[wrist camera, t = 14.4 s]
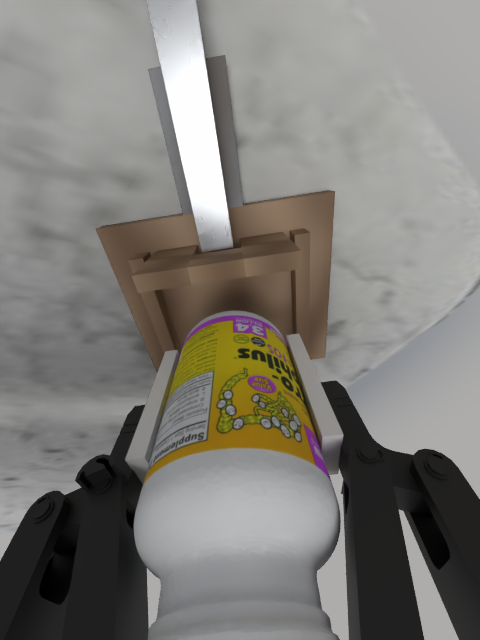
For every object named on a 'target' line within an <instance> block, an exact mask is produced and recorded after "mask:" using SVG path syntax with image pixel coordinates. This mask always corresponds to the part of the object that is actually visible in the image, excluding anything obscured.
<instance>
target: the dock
mask: <svg viewBox="0 0 480 640" xmlns="http://www.w3.org/2000/svg"><path fill="white" fill-rule="evenodd" d="M206 65H207V72H208V78H209V85H210V92H211V98H212V105H213V112H214V118H215V125H216V132H217V138H218V145H219V152H220V158H221V165H222V172H223V178H224V185H225V192H226V198H227V205H228V212H229V218H230V225H231V231H232V238H233V248H227V249H220V250H214V251H207V252H202V250H201V246H200V241H199V237H198V232H197V228H196V223H195V218H194V214H193V209H192V205H191V200H190V196H189V191H188V187H187V182H186V178H185V173H184V169H183V164H182V160H181V155H180V150H179V146H178V141H177V137H176V132H175V128H174V123H173V119H172V114H171V110H170V105H169V101H168V96H167V91H166V87H165V82H164V78H163V73H162V69H161V67H157V68H151V69H148V71H149V75H150V79H151V83H152V87H153V91H154V96H155V100H156V104H157V108H158V112H159V116H160V120H161V125H162V129H163V133H164V137H165V141H166V145H167V150H168V154H169V158H170V162H171V166H172V170H173V174H174V179H175V183H176V187H177V191H178V195H179V199H180V203H181V208H182V212H183V214H176V215H170V216H164V217H157V218H151V219H145V220H138V221H132V222H126V223H119V224H113V225H107V226H102V227H100V228H97V229H96V231H97V233H98V236H99V238H100V240H101V243H102V245H103V247H104V250H105V252H106V254H107V257H108V259H109V261H110V264H111V266H112V268H113V271H114V273H115V275H116V278H117V280H118V282H119V285H120V287H121V289H122V292H123V294H124V296H125V299H126V301H127V303H128V306H129V308H130V310H131V313H132V315H133V317H134V320H135V322H136V324H137V327H138V329H139V331H140V334H141V336H142V338H143V341H144V343H145V345H146V348H147V350H148V352H149V355H150V357H151V359H152V362H153V364H154V366H155V369H156V371H157V373H158V370H159V367H160V365H161V362H162V359H163V357H164V354H165V351H172V350H178V352H179V355H180V354H181V351H182V348H183V345H184V342H185V340H186V338H187V336H188V334H189V333H190V332H191V330H192V329H193V328H194V327H195V326H196V325H197V324H198V323H199V322H200V321H202V320H203V319H205V318H207V317H209V316H211V315H213V314H216V313H220V312H224V311H246V312H250V313H254V314H257V315H259V316H261V317H263V318H265V319H267V320H268V321H270V322H271V323H272V324H273V325H274V326H275V327H276V328H277V329H278V330H279V332H280V333H281V334H282V336H283V338H284V341H285V344H286V346H287V338H286V335H291V334H299V335H300V337H301V339H302V341H303V344H304V346H305V348H306V351H307V353H308V355H309V357H310V359H317V358H325V353H326V336H327V319H328V301H329V284H330V267H331V250H332V232H333V215H334V198H335V191H322V192H316V193H309V194H303V195H297V196H290V197H284V198H278V199H271V200H265V201H259V202H252V203H246V204H243V201H242V192H241V184H240V176H239V167H238V159H237V150H236V142H235V134H234V125H233V117H232V109H231V100H230V92H229V84H228V75H227V67H226V59H225V55H223V56H217V57H212V58H206Z"/></svg>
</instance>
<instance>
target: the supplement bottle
mask: <svg viewBox="0 0 480 640" xmlns="http://www.w3.org/2000/svg"><path fill="white" fill-rule="evenodd" d="M339 533H340V510H339V505H338V501H337V498H336V495H335V492H334V488H333V486H332V482H331V479H330V476H329V474H328V471H327V468H326V465H325V462H324V459H323V456H322V453H321V450H320V446H319V443H318V440H317V437H316V434H315V431H314V428H313V425H312V422H311V419H310V416H309V413H308V410H307V407H306V404H305V400H304V397H303V395H302V392H301V389H300V386H299V382H298V379H297V376H296V373H295V370H294V367H293V364H292V361H291V358H290V355H289V352H288V349H287V346H286V344H285V341H284V338H283V336H282V334H281V333H280V332H279V330H278V329H277V328H276V327H275V326H274V325H273V324H272V323H271V322H270V321H268V320H267V319H265V318H263V317H261V316H259V315H257V314H254V313H250V312H246V311H224V312H220V313H216V314H213V315H211V316H209V317H207V318H205V319H203V320H202V321H200V322H199V323H198V324H197V325H196V326H195V327H194V328H193V329H192V330H191V332H190V333H189V334H188V336H187V338H186V340H185V342H184V345H183V348H182V351H181V354H180V358H179V361H178V364H177V368H176V372H175V375H174V378H173V382H172V385H171V389H170V392H169V396H168V400H167V404H166V407H165V410H164V414H163V417H162V421H161V424H160V428H159V431H158V435H157V438H156V442H155V445H154V449H153V452H152V456H151V459H150V462H149V466H148V469H147V473H146V476H145V479H144V483H143V486H142V490H141V493H140V497H139V500H138V504H137V508H136V512H135V517H134V538H135V544H136V548H137V551H138V553H139V556H140V558H141V559H142V561H143V563H144V564H145V566H146V567H147V568H148V569H149V570H150V571H151V572H152V573H153V574H154V575H155V576H156V577H158V578H159V579H160V581H161V592H160V598H159V605H158V614H157V619H156V621H155V622H154V623H153V624H152V625H151V627H150V628H149V632H148V640H340V639H339V638H338V636H337V635H336V634H334V633H333V632H332V630H331V623H330V618H329V617H328V615H327V614H326V613H325V612H324V611H323V610H322V607H321V602H320V594H319V589H318V584H317V577H316V576H317V575H316V574H317V570H319V569H320V568H321V567H322V566H323V565H324V564H325V563H326V562H327V560H328V559H329V558H330V557H331V555H332V553H333V551H334V549H335V547H336V545H337V542H338V538H339Z"/></svg>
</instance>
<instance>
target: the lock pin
mask: <svg viewBox="0 0 480 640" xmlns="http://www.w3.org/2000/svg"><path fill="white" fill-rule="evenodd" d="M146 1H147V5H148V10H149V14H150V19H151V23H152V28H153V33H154V37H155V42H156V46H157V51H158V55H159V60H160V64H161V69H162V73H163V78H164V82H165V87H166V91H167V96H168V101H169V105H170V110H171V114H172V119H173V123H174V128H175V132H176V137H177V141H178V146H179V150H180V155H181V160H182V164H183V169H184V173H185V178H186V182H187V187H188V191H189V196H190V200H191V205H192V209H193V214H194V218H195V223H196V228H197V232H198V237H199V241H200V246H201V250H202V252H207V251H214V250H220V249H227V248H233V238H232V231H231V225H230V218H229V212H228V205H227V198H226V192H225V185H224V178H223V172H222V165H221V158H220V152H219V145H218V138H217V132H216V125H215V118H214V112H213V105H212V98H211V92H210V85H209V78H208V72H207V65H206V58H205V52H204V45H203V38H202V32H201V25H200V18H199V12H198V5H197V0H146Z"/></svg>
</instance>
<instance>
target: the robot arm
mask: <svg viewBox="0 0 480 640" xmlns="http://www.w3.org/2000/svg"><path fill="white" fill-rule="evenodd" d="M286 338H287V349H288V352H289V355H290V358H291V361H292V364H293V367H294V370H295V373H296V376H297V379H298V382H299V386H300V389H301V392H302V395H303V397H304V400H305V404H306V407H307V410H308V413H309V416H310V419H311V422H312V425H313V428H314V431H315V434H316V437H317V440H318V443H319V446H320V450H321V453H322V456H323V459H324V462H325V465H326V468H327V471H328V474H329V475H332V474H338V471H339V469H340V471H341V474H342V477H343V485H342V492H341V494H343V504H344V529H345V553H346V576H347V601H348V622H349V623H348V625H349V640H424V636H423V631H422V626H421V621H420V616H419V611H418V606H417V601H416V596H415V591H414V586H413V581H412V576H411V571H410V566H409V560H408V556H407V551H406V546H405V540H404V536H403V530H402V526H401V521H400V515H399V510H398V509H400V510H403V511H404V513H405V515H406V518H407V520H408V522H409V525H410V527H411V529H412V532H413V534H414V536H415V538H416V541H417V543H418V545H419V548H420V550H421V552H422V555H423V557H424V559H425V562H426V564H427V566H428V569H429V571H430V573H431V576H432V578H433V580H434V583H435V585H436V587H437V590H438V592H439V594H440V596H441V599H442V601H443V603H444V606H445V608H446V610H447V613H448V615H449V617H450V620H451V622H452V624H453V627H454V629H455V631H456V634H457V636H458V638H459V640H480V499H479V498H478V496H477V495H476V493H475V492H474V490H473V489H472V488H471V486H470V485H469V483H468V482H467V480H466V479H465V477H464V476H463V474H462V473H461V471H460V470H459V468H458V467H457V466H456V465H455V464H454V463H453V462H452V460H451V459H449V458H448V457H446V456H445V455H443V454H442V453H439V452H437V451H435V450H430V449H422V450H418V451H417V452H416V453H415V454H414V455H410V454H405V453H400V452H395V451H392V450H389V449H386V448H384V447H382V446H381V445H380V444H378V443H377V442H376V441H375V440H374V439H373V438H372V437H371V435H370V434H369V432H368V430H367V428H366V426H365V425H364V423H363V421H362V419H361V417H360V416H359V414H358V412H357V410H356V408H355V406H354V405H353V403H352V401H351V399H350V398H349V395H348V393H347V391H346V390H345V388H344V387H343V386H342V385H341V384H340V383H338V382H337V381H329V382H320V380H319V378H318V376H317V373H316V371H315V369H314V366H313V364H312V362H311V360H310V357H309V355H308V353H307V351H306V348H305V346H304V344H303V341H302V339H301V337H300V335H299V334H291V335H286ZM179 358H180V355H179V352H178V350H172V351H165V354H164V357H163V359H162V362H161V365H160V367H159V370H158V373H157V375H156V378H155V381H154V383H153V386H152V389H151V391H150V394H149V397H148V399H147V402H146V405H141V406H135V407H134V408H133V409H132V411H131V412H130V413H129V414H128V415H127V418H126V420H125V422H124V425H123V427H122V429H121V432H120V435H119V436H118V438H117V441H116V443H115V445H114V448H113V450H112V452H111V455H110V456H109V455H104V454H103V455H99V456H96V457H94V458H93V459H91V460H89V461H88V462H87V463H86V464H85V465H84V466H83V467H82V468H81V470H80V471H79V472H78V474H77V477H76V480H75V481H76V482H77V483H78V484H79V485H80V486H81V487H82V488H80V489H78V490H75V491H73V492H71V493H69V494H66V495H64V494H62V493H61V492H60V491H52V492H49V493H46V494H45V495H43V496H42V497H40V498H39V499H38V500H37V501H36V502H35V503H34V504H33V505H32V506H31V507H30V508H29V510H28V511H27V513H26V514H25V516H24V518H23V520H22V521H21V523H20V525H19V527H18V529H17V531H16V533H15V535H14V536H13V539H12V540H11V542H10V544H9V546H8V548H7V550H6V551H5V553H4V555H3V557H2V559H1V561H0V640H148V632H149V629H148V598H147V567H146V566H145V564H144V563H143V561H142V559H141V558H140V556H139V553H138V551H137V548H136V544H135V538H134V517H135V512H136V508H137V504H138V500H139V497H140V493H141V490H142V486H143V483H144V479H145V476H146V473H147V469H148V466H149V462H150V459H151V456H152V452H153V449H154V445H155V442H156V438H157V435H158V431H159V428H160V424H161V421H162V417H163V414H164V410H165V407H166V404H167V400H168V396H169V392H170V389H171V385H172V382H173V378H174V375H175V372H176V368H177V364H178V361H179Z"/></svg>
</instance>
